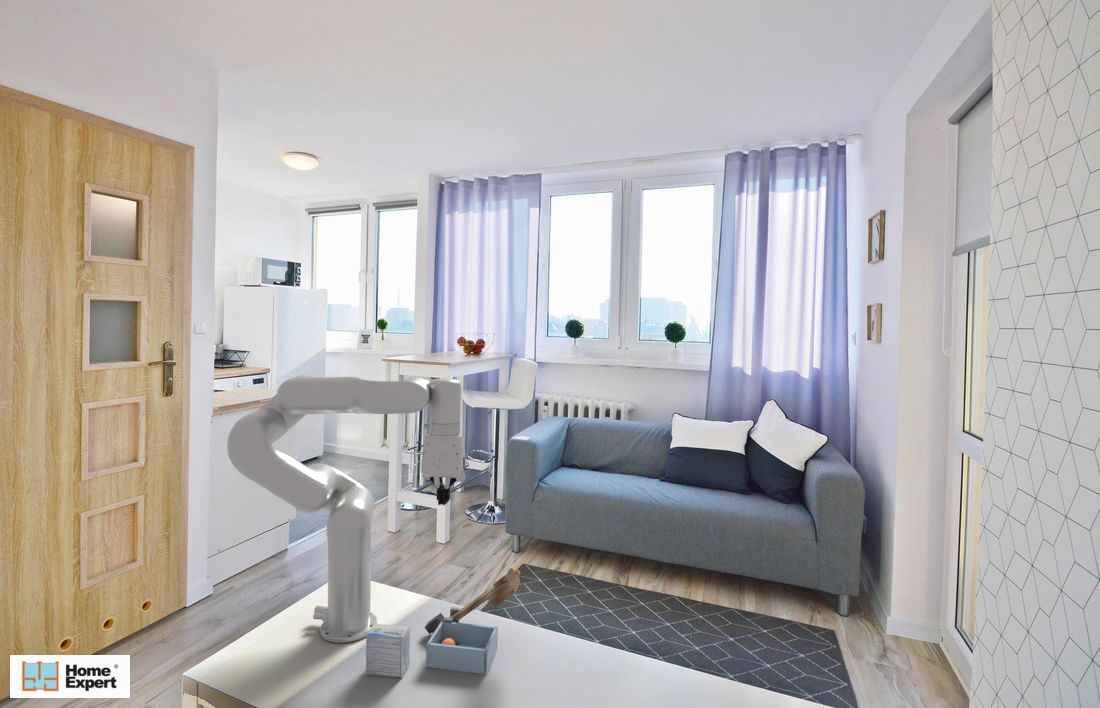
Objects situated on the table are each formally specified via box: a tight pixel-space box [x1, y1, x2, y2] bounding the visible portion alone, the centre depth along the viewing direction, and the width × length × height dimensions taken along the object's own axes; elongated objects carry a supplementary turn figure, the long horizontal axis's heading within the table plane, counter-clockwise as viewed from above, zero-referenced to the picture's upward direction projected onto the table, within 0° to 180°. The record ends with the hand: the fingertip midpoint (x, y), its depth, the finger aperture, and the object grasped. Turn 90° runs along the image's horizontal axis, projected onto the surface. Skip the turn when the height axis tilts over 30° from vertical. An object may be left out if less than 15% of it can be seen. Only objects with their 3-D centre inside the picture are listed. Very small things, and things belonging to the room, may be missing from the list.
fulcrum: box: [442, 606, 461, 645], centre depth 122 cm, size 6×7×6 cm
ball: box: [442, 638, 456, 646], centre depth 115 cm, size 3×3×3 cm
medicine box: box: [365, 623, 411, 679], centre depth 110 cm, size 8×4×9 cm, turn 84°
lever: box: [424, 567, 522, 635], centre depth 117 cm, size 27×11×3 cm
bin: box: [425, 621, 499, 675], centre depth 115 cm, size 13×9×5 cm
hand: (443, 503), depth 129 cm, fingers closed
